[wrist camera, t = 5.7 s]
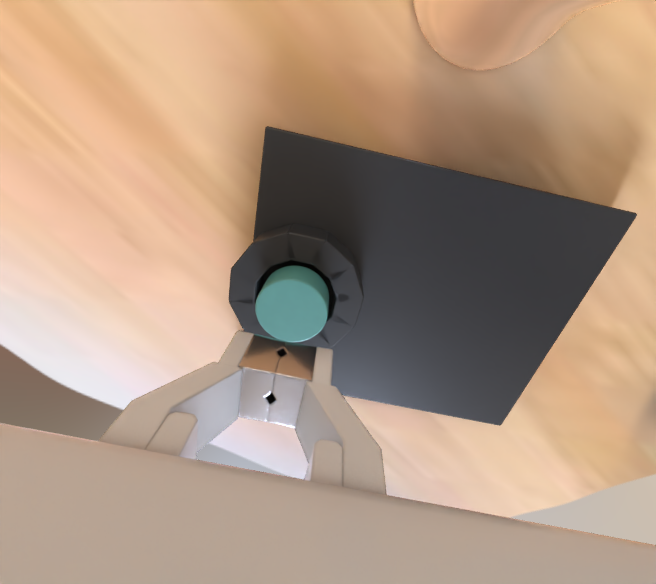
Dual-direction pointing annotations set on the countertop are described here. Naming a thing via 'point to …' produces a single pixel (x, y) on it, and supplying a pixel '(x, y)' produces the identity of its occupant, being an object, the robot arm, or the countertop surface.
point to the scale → (423, 271)
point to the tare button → (293, 304)
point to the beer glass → (493, 27)
